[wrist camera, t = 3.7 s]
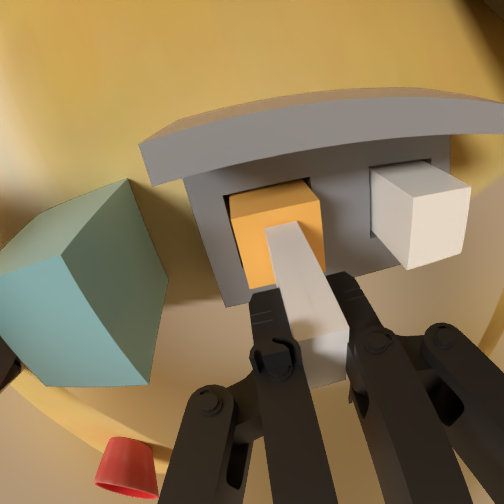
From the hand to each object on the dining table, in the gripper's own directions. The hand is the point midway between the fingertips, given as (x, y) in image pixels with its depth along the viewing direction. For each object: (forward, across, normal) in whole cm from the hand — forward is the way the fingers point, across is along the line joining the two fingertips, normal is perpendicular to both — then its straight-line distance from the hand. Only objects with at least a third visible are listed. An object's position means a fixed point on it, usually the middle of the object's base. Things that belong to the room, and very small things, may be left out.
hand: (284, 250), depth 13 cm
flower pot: (+6, -30, -36) cm, 47 cm away
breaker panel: (+6, +4, 0) cm, 7 cm away
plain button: (+4, +8, 0) cm, 9 cm away
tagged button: (+5, 0, 0) cm, 5 cm away
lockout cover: (+6, -12, 0) cm, 13 cm away
